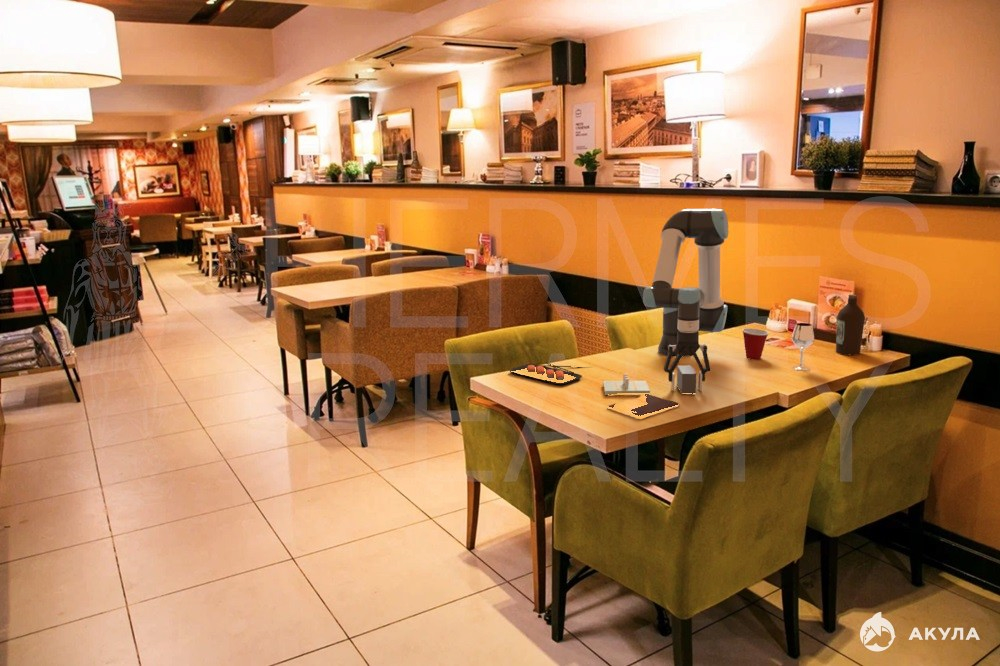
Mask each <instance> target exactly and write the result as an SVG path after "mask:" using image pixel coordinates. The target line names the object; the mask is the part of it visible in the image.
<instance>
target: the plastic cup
mask: <svg viewBox="0 0 1000 666" xmlns="http://www.w3.org/2000/svg"><path fill="white" fill-rule="evenodd" d="M741 331H742V333H743V342H744V343H743V344H744V350H745V356H746V359H748V360H752V359H753V360H754V361H755V360H757V361H759V360H761V359H762V355H763V352H764V348H765V344H766V340H767V337H768V335H769V334H770V332H769V331H767V330H763V329H760V328H752V327H751V328H749V327H748V328H747V327H746V328H742V329H741Z"/></svg>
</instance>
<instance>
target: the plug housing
mask: <svg viewBox="0 0 1000 666" xmlns="http://www.w3.org/2000/svg"><path fill="white" fill-rule="evenodd" d="M676 371H677V372H676V376H677V377H676V387H677V386H678V387H677V389H678V388H679V389H680V391H681V393H692V394H693V393H696V394H697V372H696V371H695V369H694V368H693V367H692V365H677V366H676ZM679 389H678V390H679ZM680 391H679V392H680ZM681 393H680V394H681Z"/></svg>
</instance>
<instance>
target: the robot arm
mask: <svg viewBox="0 0 1000 666" xmlns="http://www.w3.org/2000/svg"><path fill="white" fill-rule="evenodd" d="M727 215H728V214H727V213H726V211H725V210H724V209H720V208H719V209H718V208H686V209H682V210H679V211H677V212H676V213H674V214H673V215H672V216H670V217H669V218H668V220H666V222H665V223H664V225H663V227H662V229H661V233H660V239H661V245H660V248H659V253H658V257H657V261H656V267H655V269H654V274H653V278H652V282H651V286H646V287H645V288H644V289H643V293H642V303H643V304H644V306H645V307H650V308H663V310H662V336H661V338H660V341H659V344H658V347H657V349H658V350H657V351H658V354H660V355H662V356H666V359H665V362H664V364H663V372H665V373H668V378H667V379H668V381H669V383H670V389H672V390H674V391H675V376H676V374H675V372H674V371H675V370H676V369H677V366H678V364H679V363H680V361H681V359H682V358H683V357H693V359H694V360H695V362H696V364H697V365H698V368H699V370H700V371H698V379H697V380H698V383H697V384H698V385H697V387H698V388H699V389H698V388H697V389H698V391H699V390H702V391H703V382H705V381H706V373H710V372H711V371H712V370H711V366H710V361H709V357H708V353H707V352H708V345H706V344H705V343H704V344H699V343H700V342H699V339H700V338H699V335H700V332H709V333H710V332H711V333H720V332H723V330H724V328H725V324H726V320H727V313H728V308H729V307H728V305H727V304H724V303H725V302H724V301H725V300H724V299H723V298H722V297H721V246H722V245H723V244H724V243H725V240H726V239H728V237H729V220H728V216H727ZM686 239H693V240H694V245H696V246H697V247H698V253H697V254H698V258H697V259H698V287H697V286H696V287H695V286H694V287H693V286H687V287H686V286H685V287H681V288H679V287H678V288H677V287H673V284H674V280H675V279H674V278H675V275H676V270H677V266H678V261H679V260H678V259H679V255H680V251H681V248H682V244H683V243H684V242H685V241H686ZM699 349H700V351H701V354H702V356H703V361H704V365H705V366H703V364H702V362H701V360H700V358H699V356H698V354H697V352H698V351H699ZM673 356H676V357H675V358H674V359H673V361H672V358H673ZM682 356H683V357H682ZM671 361H672V363H671ZM672 390H671V391H672Z"/></svg>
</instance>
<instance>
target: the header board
mask: <svg viewBox="0 0 1000 666" xmlns="http://www.w3.org/2000/svg"><path fill="white" fill-rule="evenodd" d="M622 375H623V377H622V379H623V380H603V381H602V387H604V388H603V393H604V392H605V393H604V396H605V395H608V394H609V395H611V394H617V393H650V394H651V390H650V387H649V385H648V383H647V380H629V376H628V374H627V373H623V374H622Z"/></svg>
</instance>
